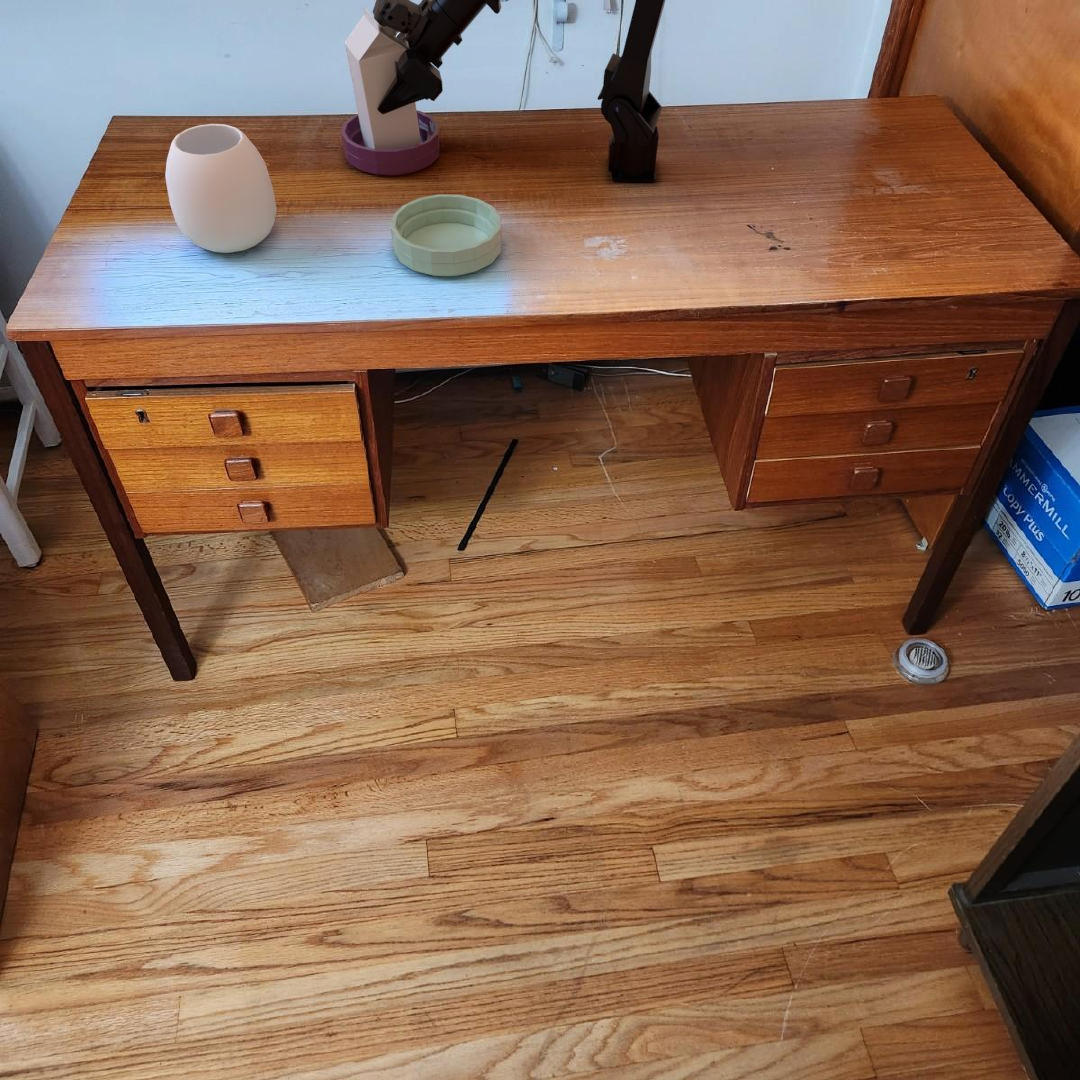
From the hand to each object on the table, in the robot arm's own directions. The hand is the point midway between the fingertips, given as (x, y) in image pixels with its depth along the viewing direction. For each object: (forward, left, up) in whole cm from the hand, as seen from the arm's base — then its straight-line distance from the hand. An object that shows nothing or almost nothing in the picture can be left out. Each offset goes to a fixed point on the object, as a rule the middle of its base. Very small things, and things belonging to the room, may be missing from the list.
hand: (378, 99), depth 138 cm
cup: (+18, +24, -9) cm, 31 cm away
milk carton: (-1, 0, -8) cm, 8 cm away
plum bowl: (-1, 0, -8) cm, 9 cm away
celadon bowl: (-11, +26, -8) cm, 29 cm away
